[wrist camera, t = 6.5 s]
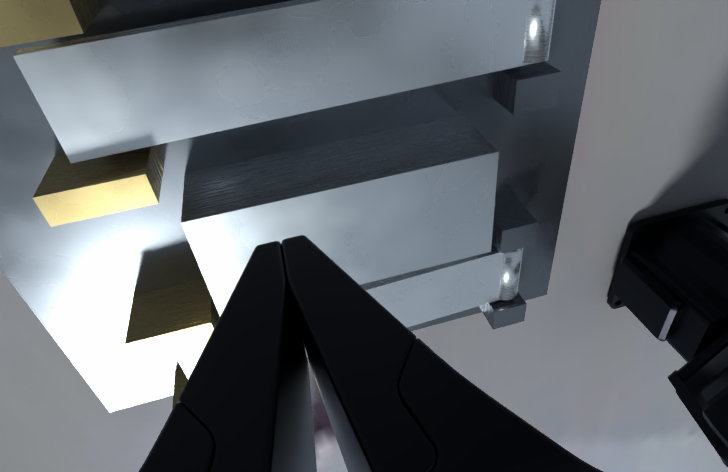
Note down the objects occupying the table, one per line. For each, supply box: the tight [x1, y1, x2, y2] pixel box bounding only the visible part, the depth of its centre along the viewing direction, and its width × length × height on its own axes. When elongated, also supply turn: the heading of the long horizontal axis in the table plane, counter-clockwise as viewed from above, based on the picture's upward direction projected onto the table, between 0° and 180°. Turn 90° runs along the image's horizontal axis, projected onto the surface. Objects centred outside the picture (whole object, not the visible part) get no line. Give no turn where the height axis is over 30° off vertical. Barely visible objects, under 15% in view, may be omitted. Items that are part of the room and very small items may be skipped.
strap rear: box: [173, 244, 523, 379], centre depth 21 cm, size 15×3×1 cm, turn 96°
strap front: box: [13, 0, 556, 163], centre depth 14 cm, size 15×3×1 cm, turn 96°
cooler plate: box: [0, 0, 601, 412], centre depth 18 cm, size 22×19×5 cm
